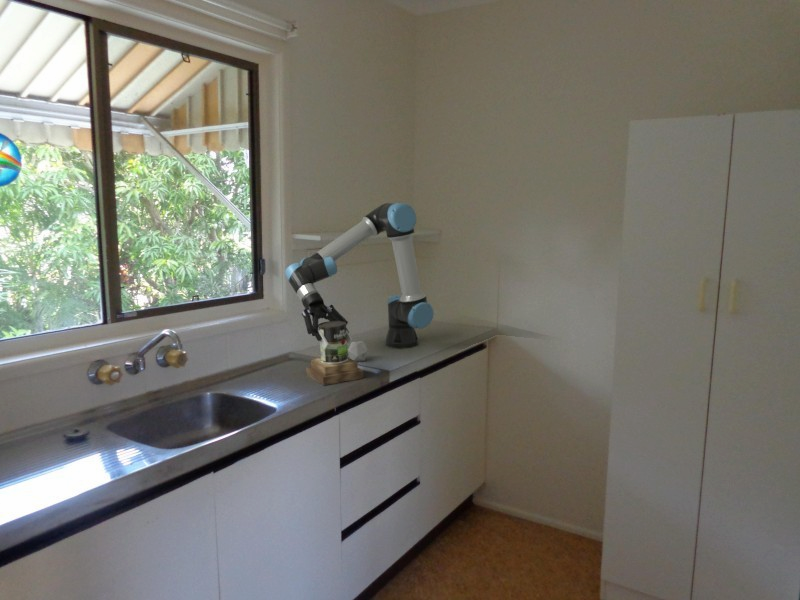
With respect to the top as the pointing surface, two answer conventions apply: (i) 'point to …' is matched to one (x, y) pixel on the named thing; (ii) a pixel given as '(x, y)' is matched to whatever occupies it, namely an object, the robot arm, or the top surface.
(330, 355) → the coffee can
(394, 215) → the robot arm
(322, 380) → the tower base
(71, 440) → the top surface
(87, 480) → the top surface
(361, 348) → the die
